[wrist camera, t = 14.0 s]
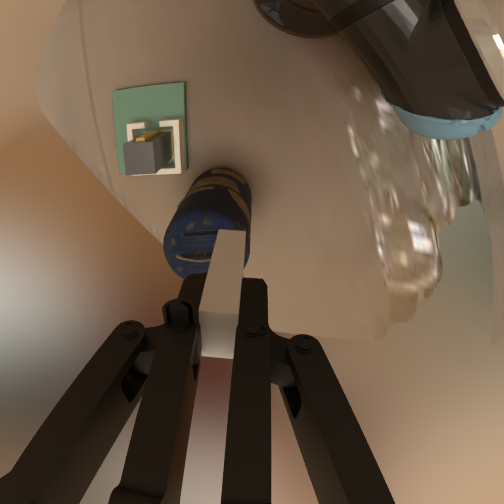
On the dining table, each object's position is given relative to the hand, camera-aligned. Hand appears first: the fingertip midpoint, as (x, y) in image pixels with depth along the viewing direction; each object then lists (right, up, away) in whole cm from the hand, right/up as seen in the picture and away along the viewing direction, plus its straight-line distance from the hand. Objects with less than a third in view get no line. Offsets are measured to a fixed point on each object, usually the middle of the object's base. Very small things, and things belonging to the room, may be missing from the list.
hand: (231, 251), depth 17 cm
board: (-14, +18, +23) cm, 32 cm away
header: (-12, +15, +23) cm, 30 cm away
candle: (-4, +9, +29) cm, 30 cm away
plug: (-12, +15, +23) cm, 30 cm away
